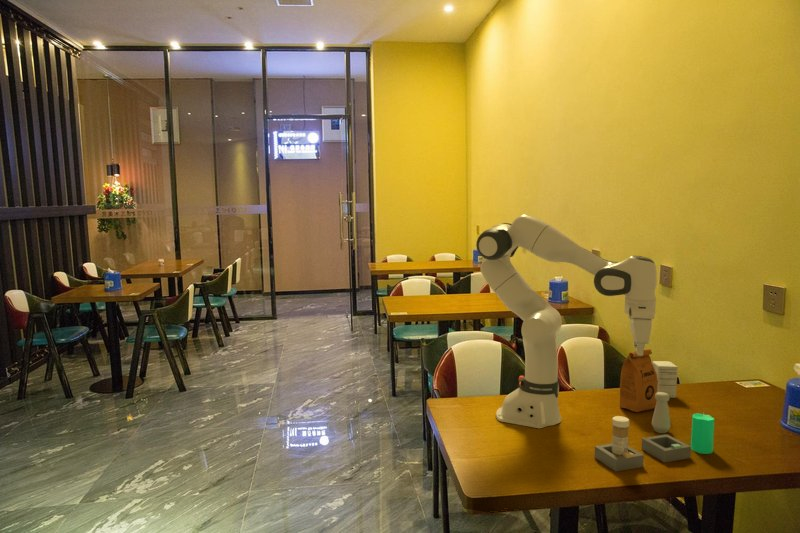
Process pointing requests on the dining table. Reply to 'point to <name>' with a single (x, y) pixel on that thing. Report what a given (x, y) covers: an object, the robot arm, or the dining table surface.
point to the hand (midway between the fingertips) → (638, 351)
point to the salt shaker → (661, 413)
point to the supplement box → (666, 377)
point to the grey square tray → (666, 448)
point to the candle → (702, 433)
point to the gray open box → (619, 458)
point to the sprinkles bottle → (620, 435)
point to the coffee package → (638, 382)
